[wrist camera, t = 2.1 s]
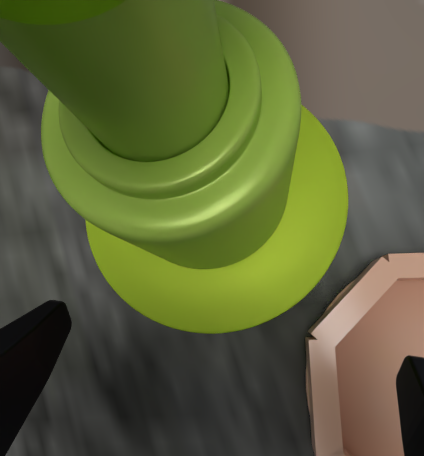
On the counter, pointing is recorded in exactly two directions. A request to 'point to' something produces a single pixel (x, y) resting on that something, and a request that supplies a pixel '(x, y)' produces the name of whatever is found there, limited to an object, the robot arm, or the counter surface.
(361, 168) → the counter surface
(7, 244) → the counter surface
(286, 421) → the counter surface
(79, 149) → the soap dispenser
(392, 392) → the dish
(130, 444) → the counter surface
